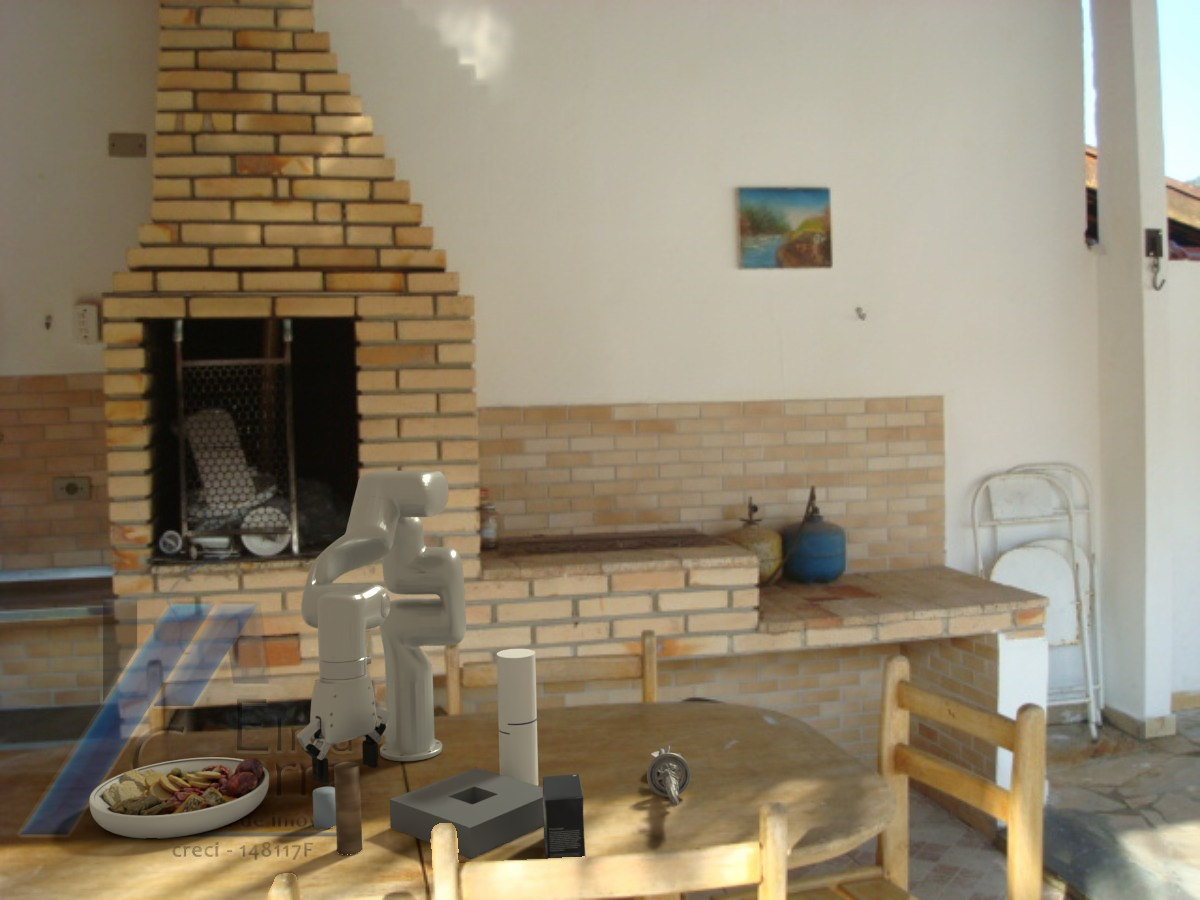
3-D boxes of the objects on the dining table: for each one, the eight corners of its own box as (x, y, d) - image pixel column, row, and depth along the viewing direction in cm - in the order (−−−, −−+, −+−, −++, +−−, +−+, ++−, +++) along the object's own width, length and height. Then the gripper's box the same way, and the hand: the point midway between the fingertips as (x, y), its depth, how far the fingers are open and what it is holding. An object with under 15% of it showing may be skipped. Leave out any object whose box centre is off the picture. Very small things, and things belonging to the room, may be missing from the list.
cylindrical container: (532, 793, 208) (529, 658, 206) (495, 791, 209) (491, 657, 208) (542, 779, 215) (539, 649, 213) (506, 777, 216) (502, 648, 215)
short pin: (309, 825, 195) (307, 791, 194) (328, 818, 198) (327, 785, 197) (323, 831, 192) (321, 796, 192) (342, 824, 195) (341, 790, 195)
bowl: (96, 860, 183) (94, 812, 182) (85, 801, 209) (83, 759, 209) (285, 823, 196) (284, 779, 196) (252, 772, 223) (251, 733, 223)
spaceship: (644, 788, 187) (688, 769, 187) (636, 742, 222) (673, 726, 222) (663, 833, 187) (707, 813, 187) (652, 780, 222) (689, 764, 222)
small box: (542, 836, 188) (541, 774, 187) (581, 834, 189) (580, 772, 188) (545, 863, 178) (543, 798, 177) (586, 861, 178) (585, 796, 178)
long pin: (332, 851, 184) (329, 766, 183) (352, 843, 187) (349, 759, 186) (347, 857, 181) (344, 771, 180) (367, 849, 184) (364, 764, 183)
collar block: (390, 828, 193) (389, 799, 193) (476, 793, 208) (476, 767, 208) (471, 858, 180) (470, 827, 180) (556, 819, 195) (556, 791, 195)
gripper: (371, 655, 191) (374, 756, 192) (283, 675, 178) (286, 783, 179) (400, 661, 186) (403, 764, 187) (311, 682, 173) (314, 793, 174)
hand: (346, 773), depth 183 cm, fingers open, 9 cm apart
